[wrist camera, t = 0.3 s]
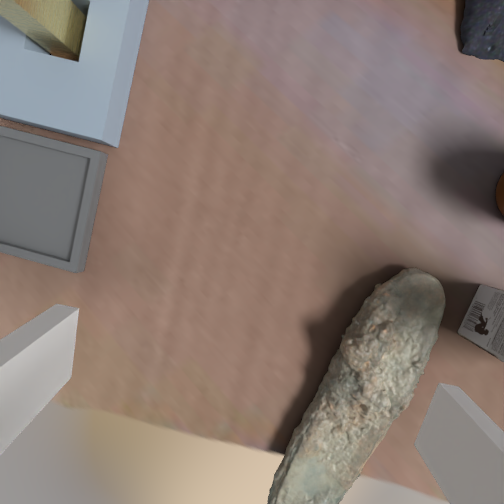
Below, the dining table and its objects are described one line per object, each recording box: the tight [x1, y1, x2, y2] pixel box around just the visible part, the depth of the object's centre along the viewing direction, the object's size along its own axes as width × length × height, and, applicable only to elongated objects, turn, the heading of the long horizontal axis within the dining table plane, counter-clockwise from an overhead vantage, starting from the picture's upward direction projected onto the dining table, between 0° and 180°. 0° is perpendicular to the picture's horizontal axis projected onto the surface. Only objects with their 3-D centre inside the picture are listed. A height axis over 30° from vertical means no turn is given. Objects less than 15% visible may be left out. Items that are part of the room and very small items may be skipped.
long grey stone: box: [268, 268, 446, 504], centre depth 36 cm, size 35×5×10 cm
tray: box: [0, 126, 108, 273], centre depth 37 cm, size 14×14×2 cm
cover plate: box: [0, 0, 149, 148], centre depth 34 cm, size 20×14×4 cm
